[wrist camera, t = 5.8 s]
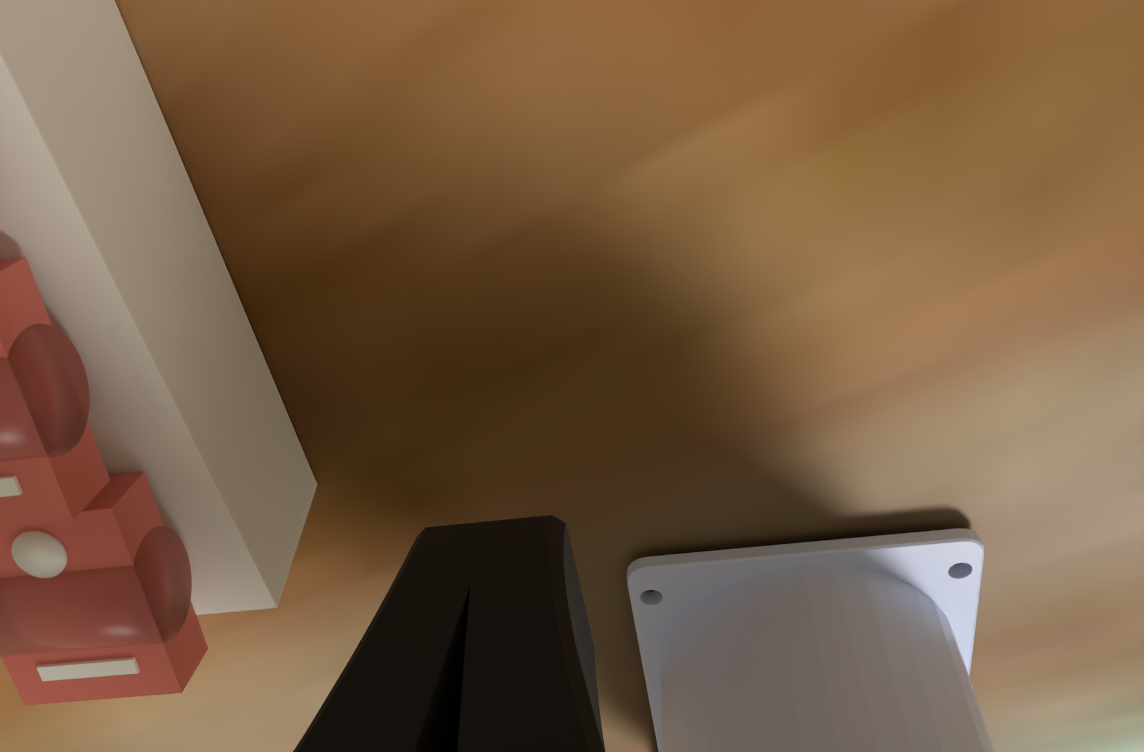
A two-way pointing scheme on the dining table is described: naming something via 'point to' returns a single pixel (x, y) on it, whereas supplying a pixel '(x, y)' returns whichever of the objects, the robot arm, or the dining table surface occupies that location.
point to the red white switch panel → (145, 299)
